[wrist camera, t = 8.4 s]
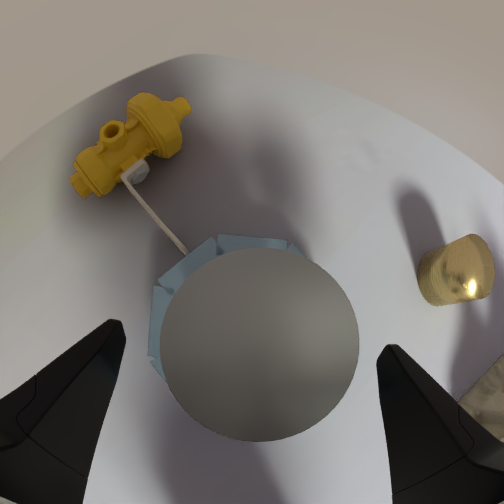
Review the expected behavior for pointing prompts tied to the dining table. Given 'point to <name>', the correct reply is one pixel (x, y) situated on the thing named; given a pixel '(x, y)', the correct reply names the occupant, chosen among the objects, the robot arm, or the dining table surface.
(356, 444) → the dining table surface
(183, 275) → the collar
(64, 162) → the dining table surface
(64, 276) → the dining table surface
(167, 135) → the pressure relief valve
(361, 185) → the dining table surface
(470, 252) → the short brass cylinder
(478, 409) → the jagged beige rock
